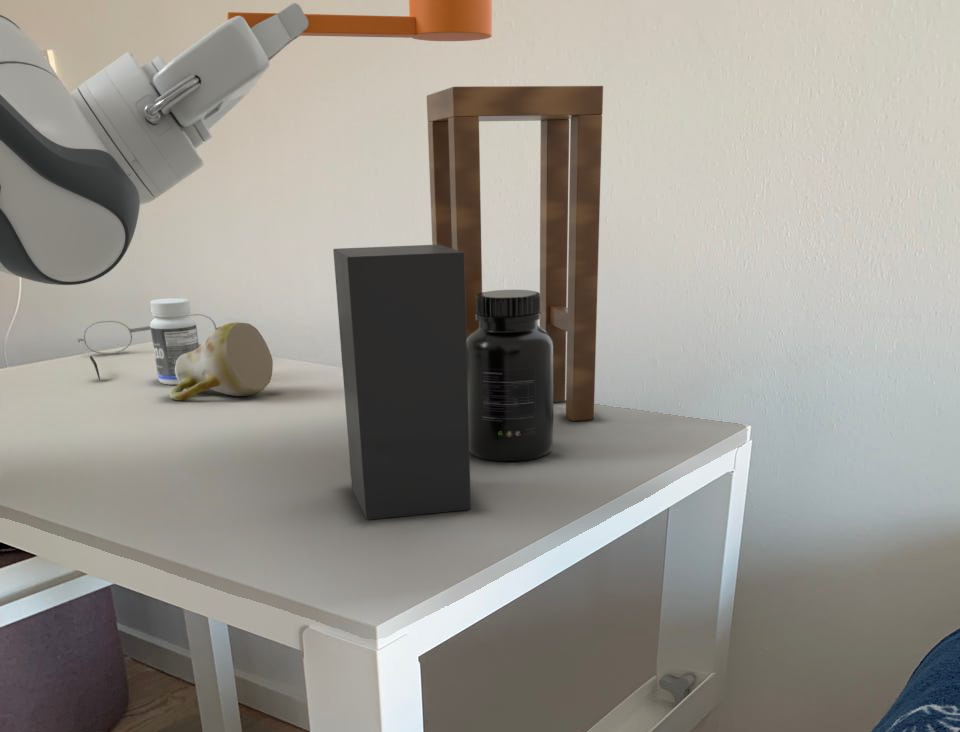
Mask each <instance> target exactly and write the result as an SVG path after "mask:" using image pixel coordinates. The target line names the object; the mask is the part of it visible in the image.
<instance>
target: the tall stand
mask: <svg viewBox="0 0 960 732" xmlns="http://www.w3.org/2000/svg"><path fill="white" fill-rule="evenodd" d="M603 106H604V85H505V86H502V85H501V86H500V85H499V86H495V85H494V86H491V85H490V86H487V85H485V86H484V85H483V86H479V85H478V86H452V87H448V88H445V89H442V90H440V91H436V92H433V93H430V94H427V95H426V116H427V141H428V142H427V143H428V169H429V194H430V196H429V197H430V217H431V218H430V220H431V221H430V222H431V245H442V246H445V247H449V248H452V249H455V250H458V251H461V252H464V264H465V303H466V340H467V338H468V336H469V335H470V334H471V333H472V332H474V331H475V330H476V329H478V328H479V321H477V320H476V295H477V294H478V293H482V292H483V261H482V260H483V258H482V256H483V255H482V214H481V213H482V210H481V209H482V207H481V205H482V204H481V155H480V153H481V152H480V149H481V148H480V122H531V121H532V122H535V121H536V122H537V121H538V122H539V121H540V148H539V149H540V151H539V153H540V155H539V156H540V158H539V159H540V160H539V161H540V169H539V170H540V171H539V172H540V174H539V175H540V176H539V177H540V178H539V179H540V180H539V183H540V184H539V185H540V186H539V190H540V191H539V192H540V193H539V196H540V197H539V214H540V215H539V293H540V311H541V319H539V327H540V328H542V329H543V330H545V331H546V332H547V333H548V334H549V335H550V337H551V339H552V341H553V403H562V402H565V417H566V418H567V419H569V420H570V421H572V422H582V421H593V420H594V418H595V389H596V387H595V385H596V355H597V352H596V351H597V320H598V319H597V318H598V317H597V316H598V287H599V286H598V284H599V283H598V282H599V281H598V280H599V247H600V245H599V243H600V214H601V213H600V212H601V211H600V207H601V206H600V205H601V176H602V175H601V174H602V142H603V141H602V140H603V139H602V137H603Z"/></svg>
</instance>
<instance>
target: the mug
mask: <svg viewBox="0 0 960 732" xmlns="http://www.w3.org/2000/svg"><path fill="white" fill-rule="evenodd" d="M218 327H219V328H218ZM218 327H217V328H218V329H216V330H215V329H214V330H213V331H212V332H211V333H210V334H209V335H208V336H207V337H205V339H204V340H203V341H202V343H200V344H201V345H200V344H199V345H200V346H199V347H198V348H197V349H196V350H194V351H191V352H188V353H185V354H183V355H181V356H180V357H179V358H178V359H177V361H176V365H175V374H176V377H177V379H178V381H179V382H180V384H176V385H175V387H173V388H172V389H171V390H170V393H169V398H170V399H171V400H175V401H186V400H188V399H191V398H193V397H194V396H197V395H199V394H201V393H203V392H206V391H214V392H217V393H220V394H224V395H228V396H233V397H247V396H252V395H254V394H257V393H260V392H263V391H264V390H265V389H266V387H267V386H268V385H269V384H270V383H271V380H272V376H273V367H274V365H273V363H274V362H273V357H272V354H271V351H270V349H269V346H268V343H267V342H266V340H265V339H264V337H263V335H262V333H261V332H260V331H259V330H258V329H257V328H256V327H255V326H254V325H252V324H250V323H248V322H241V321H239V322H237V321H236V322H229V323H226V324H223V325H221V326H218Z"/></svg>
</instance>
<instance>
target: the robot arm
mask: <svg viewBox="0 0 960 732" xmlns="http://www.w3.org/2000/svg"><path fill="white" fill-rule="evenodd" d="M277 13H278V14H276V15H274V16H272V17H270V18H268V19H266V20H264V21H262V22H260V23H258V24H256V25H255V26H253V27H252V28H250V27H249V26H248V24H247V22H246V21H245V19H244V18H243V17H241V16H236V17H233V18H231V19H229V20H227V19H226V20H225V21H224V22H222V23H221V24H219V25H218V26H216V27H215V28H214V29H212V30H211V31H210V32H209V33H207V34H205V35H204V36H203V37H201V38H199V40H196V41H195V42H194V43H193V44H191V45H190V46H188V48H186V49H185V50H184V51H182V52H181V53H179V54H178V55H176V56H175V57H174V58H172V59H171V60H170V61H169V62H167V63H166V62H165V61H164V59H163V57H162V56H160V55H157V56H155V57H154V58H152V59H151V61H148V62H146V63H145V64H144V65H142V66H140V64H139V63H138V61H137V60H136V58H135V57H134V56H133V54H132V53H131V52H130V51H127V52H125V53H124V54H123V55H121V56H120V57H118V58H117V59H115V60H114V61H112V62H111V63H109V64H108V65H107V66H105V67H104V68H102V69H101V70H99V71H98V72H97V73H94V75H92V76H91V77H89V78H88V79H86V80H85V81H83V82H82V83H80V84H79V85H78V86H76V87H75V89H73V91H71V92H69V89H67V87H66V86H65V85H64V83H63V82H62V80H61V79H60V78H59V76H58V74H57V72H56V71H55V69H54V68H53V67H52V66H51V64H50V62H49V61H48V59H47V57H45V55H44V53H43V52H42V51H41V49H40V47H39V46H38V45H37V44H36V43H35V42H34V40H32V39H31V38H30V37H29V35H27V34H26V33H25V32H24V31H23V30H22V29H21V28H20V27H19V26H18V24H16V23H15V22H14V21H12V20H11V19H9V18H8V17H6V16H4V15H1V14H0V272H3V273H5V274H8V275H10V276H13V277H19V278H23V279H26V280H29V281H32V282H37V283H42V284H47V285H56V286H76V285H83V284H87V283H90V282H93V281H95V280H98V279H100V278H102V277H104V276H105V275H107V274H108V273H110V272H111V271H112V270H113V269H114V268H116V266H117V265H118V264H119V263H120V262H121V261H122V260H123V258H124V257H125V254H126V253H127V252H128V249H129V247H130V245H131V243H132V240H133V238H134V235H135V231H136V228H137V224H138V220H139V215H140V214H139V213H140V207H141V205H144V204H147V203H151V202H153V201H154V200H156V199H158V198H159V197H160V196H162V195H163V194H165V193H166V192H167V191H169V190H170V189H172V188H174V187H175V186H177V185H178V184H179V183H180V182H182V181H183V180H185V179H186V178H188V177H189V176H191V175H192V174H193V173H195V172H196V171H198V170H199V169H201V168H202V167H204V165H205V164H204V161H203V159H202V158H201V157H200V155H199V153H198V151H197V148H199V147H200V146H202V145H204V142H205V143H206V142H207V141H209V140H210V139H212V134H211V132H210V130H211V128H212V127H213V126H214V125H215V124H216V123H218V122H219V121H220V120H221V119H222V118H223V117H224V116H226V114H228V113H229V112H230V111H231V110H232V109H233V108H234V107H236V106H237V104H239V103H240V102H241V101H242V100H243V99H244V98H245V97H246V96H247V95H248V94H249V93H250V92H252V90H253V89H254V87H255V86H256V85H257V83H258V82H259V80H260V79H261V78H262V77H263V75H264V74H265V73H266V71H267V70H268V69H269V67H270V61H271V60H272V59H273V58H275V56H277V55H278V54H279V53H280V52H281V51H283V50H284V49H285V48H286V47H288V45H290V44H291V43H293V42H295V41H296V40H297V39H299V38H300V37H301V36H297V35H299V34H300V33H302V32H303V31H305V30H306V29H307V27H308V19H307V18H306V16H305V14H306V13H304V11H303V9H302V7H301V6H300V4H298V3H296V2H294V3H291V4H290V5H288V6H286V7H285V8H283V9H282V10H280V11H279V12H277Z"/></svg>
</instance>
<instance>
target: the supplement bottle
mask: <svg viewBox="0 0 960 732" xmlns="http://www.w3.org/2000/svg"><path fill="white" fill-rule="evenodd" d="M540 319H541V311H540V292H539V291H536V290H529V289H497V290H489V291H488V290H487V291H482V293H478V294H477V295H476V320H477V321H479V328H478V329H476V330H475V331H474V332H472V333H471V334H470V335H469V336H468V338H467V340H466V342H467V380H468V419H469V452H470V453H471V454H473V456H475V457H477V458H479V459H483V460H487V461H494V462H521V461H529V460H534V459H538V458H541V457H543V456H545V455H547V454H548V453H550V451H551V450H552V448H553V446H554V402H553V341H552V339H551V337H550V335H549V334H548V333H547V332H546V331H545V330H543V329H542V328H540V325H539V324H538V323H539V320H540Z"/></svg>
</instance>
